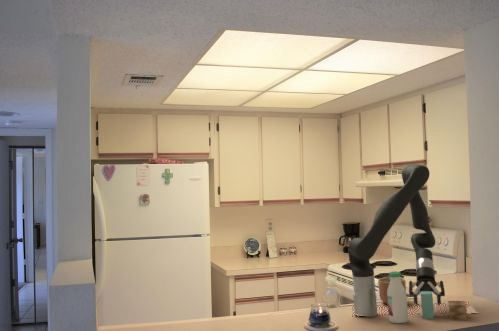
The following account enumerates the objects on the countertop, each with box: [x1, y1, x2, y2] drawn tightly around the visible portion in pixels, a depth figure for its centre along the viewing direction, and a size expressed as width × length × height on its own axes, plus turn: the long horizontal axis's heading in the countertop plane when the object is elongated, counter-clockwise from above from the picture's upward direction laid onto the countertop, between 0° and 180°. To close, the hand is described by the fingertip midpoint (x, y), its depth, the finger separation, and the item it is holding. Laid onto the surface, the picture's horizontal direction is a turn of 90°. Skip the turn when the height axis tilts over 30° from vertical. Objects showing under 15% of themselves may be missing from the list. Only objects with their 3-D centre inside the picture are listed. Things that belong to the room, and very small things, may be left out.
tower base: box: [447, 300, 468, 321], centre depth 201 cm, size 6×6×6 cm
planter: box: [377, 276, 407, 305], centre depth 230 cm, size 12×12×11 cm
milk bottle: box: [387, 271, 409, 324], centre depth 202 cm, size 8×8×20 cm
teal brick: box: [420, 291, 435, 319], centre depth 205 cm, size 4×4×10 cm
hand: (427, 304), depth 204 cm, fingers open, 8 cm apart
